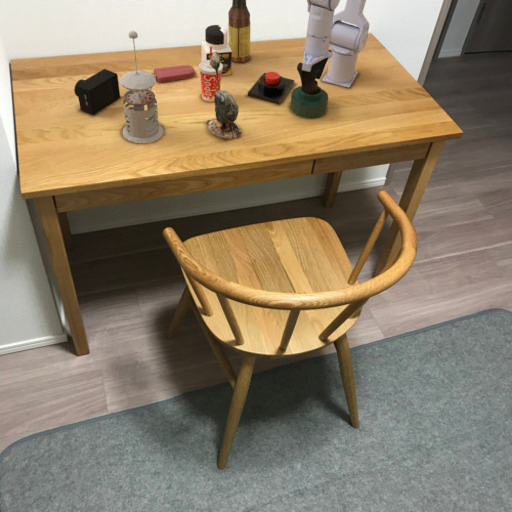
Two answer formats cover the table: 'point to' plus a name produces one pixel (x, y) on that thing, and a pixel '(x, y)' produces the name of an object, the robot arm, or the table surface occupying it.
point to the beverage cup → (209, 79)
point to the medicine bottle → (217, 46)
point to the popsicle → (173, 73)
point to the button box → (271, 90)
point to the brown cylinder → (313, 89)
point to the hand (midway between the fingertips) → (311, 84)
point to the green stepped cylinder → (309, 103)
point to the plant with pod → (223, 109)
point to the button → (272, 78)
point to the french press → (140, 105)
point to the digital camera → (97, 91)
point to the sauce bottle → (239, 31)
